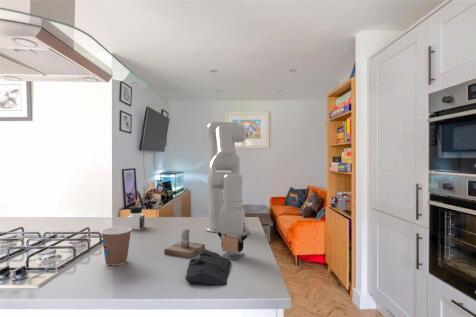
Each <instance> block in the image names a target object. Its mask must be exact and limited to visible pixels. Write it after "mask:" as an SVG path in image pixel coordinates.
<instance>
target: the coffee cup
mask: <svg viewBox="0 0 476 317" xmlns="http://www.w3.org/2000/svg"><path fill="white" fill-rule="evenodd" d="M131 231H133V229H131V228H130V227H127V226H112V227H108V228H104V229H103V230H101V231H100V232H101V235H102V236H101V237H102V245H103V252H104V253H103V254H104V259H105V260H104V262H105V265H106V266H109V265H112V266H113V265H117V266H120V265H124V264H126V263H127V259H128V255H129V254H128V253H129V249H130V248H129V247H130V240H131V233H132V232H131ZM112 266H111V267H112ZM113 267H114V266H113Z"/></svg>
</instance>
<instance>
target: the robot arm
mask: <svg viewBox="0 0 476 317" xmlns="http://www.w3.org/2000/svg"><path fill="white" fill-rule="evenodd" d="M207 136H208V139H209V142H210V162H209V164H208V165H209V166H208V176H207V186H208V226H206V227H205V230H206V231H207V232H210V233H216V234H217V236H218V237H219V238H220V240H221V241H222V238H223V237H225V236H226V235H228V234H229V235H238V238H239V242H238V252H237V253H242V251H243V250H244V241H245V240H246V239H247V238H248V237H250V235H252V231H251V230H250V229H249V228H248V226H247V225H246V213H245V209H244V208H243V183H244V182H243V179H244V178H243V175H241V174H240V173H241V172H240V170H241V168H240V167H241V161H240V157H239V156H240V155H238V154H237V148H236V143H244V142H245V141H246V139H247V131H246V128H245V127H244V125H243V124H241V123H240V122H233V121H231V122H229V121H228V122H227V121H211V122H210V123H208V124H207ZM218 171H219V172H218ZM220 171H221V172H220ZM223 171H230V172H223Z"/></svg>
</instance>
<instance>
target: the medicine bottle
mask: <svg viewBox="0 0 476 317" xmlns="http://www.w3.org/2000/svg"><path fill="white" fill-rule="evenodd" d="M129 210H130V212H129V214H130V215H128V216H127V219H126V223H127V224H126V227H130V228H131V229H132V231H133V230H138V231H139V230H142V229H143V228H145V213H142V212H143V207H142V206H139V205H138V206H135V205H134V206H132V207H130V208H129Z"/></svg>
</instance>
